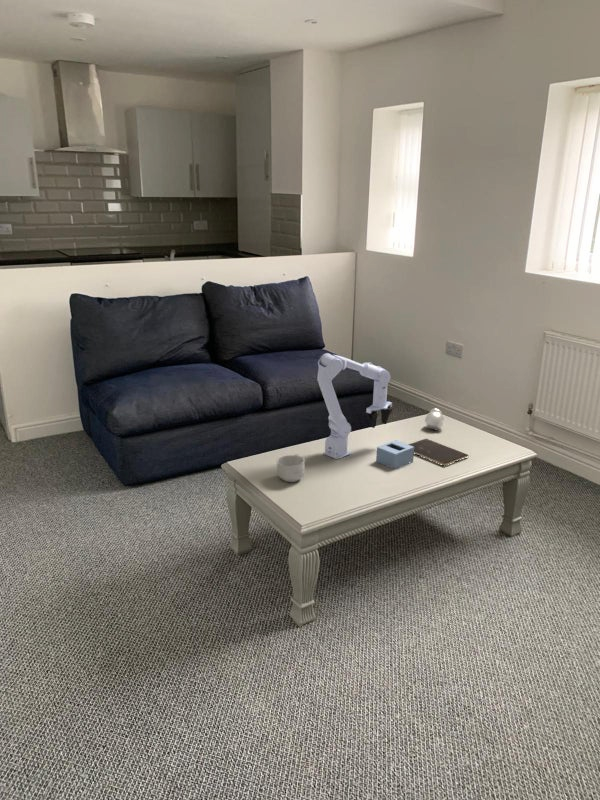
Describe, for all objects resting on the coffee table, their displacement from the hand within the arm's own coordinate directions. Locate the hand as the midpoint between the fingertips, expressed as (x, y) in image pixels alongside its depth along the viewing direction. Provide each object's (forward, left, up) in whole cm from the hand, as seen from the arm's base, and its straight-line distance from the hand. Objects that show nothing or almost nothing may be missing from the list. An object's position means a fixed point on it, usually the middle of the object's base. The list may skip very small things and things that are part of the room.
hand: (378, 425), depth 278 cm
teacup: (-49, +1, -11) cm, 50 cm away
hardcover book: (+14, -21, -11) cm, 28 cm away
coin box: (-6, -15, -10) cm, 19 cm away
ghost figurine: (+39, -2, -11) cm, 40 cm away
